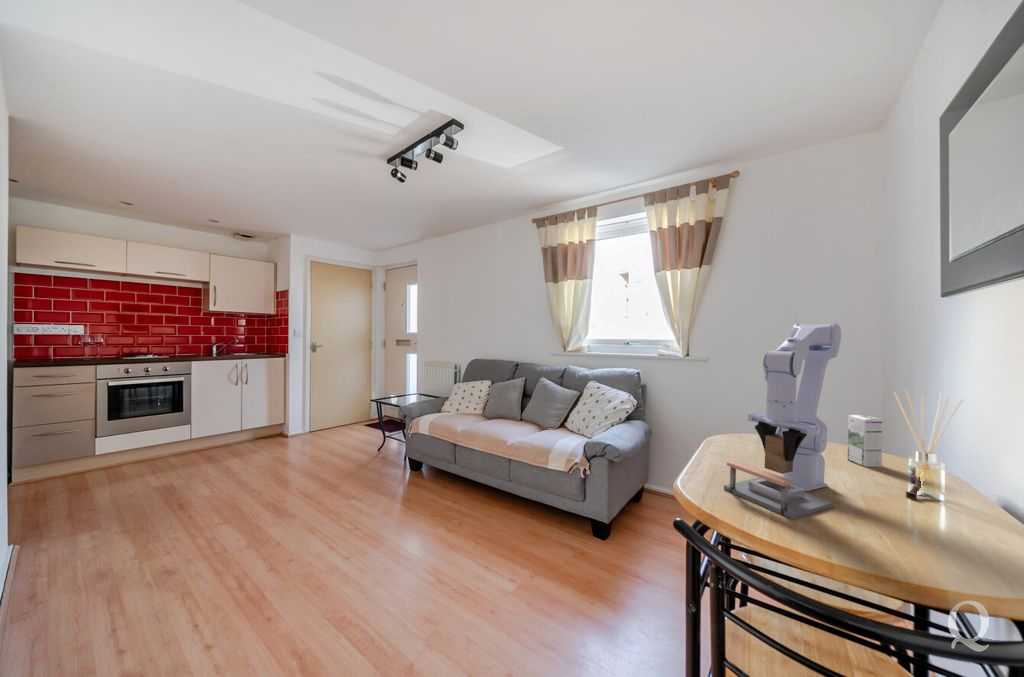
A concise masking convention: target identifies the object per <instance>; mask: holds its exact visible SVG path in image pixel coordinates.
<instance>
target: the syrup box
mask: <svg viewBox="0 0 1024 677" xmlns="http://www.w3.org/2000/svg"><path fill="white" fill-rule="evenodd" d="M847 426H848V429H847V430H848V432H847V461H849V460H850V461H849V462H851V461H853V462H852V463H854V462H855V463H854V464H856V463H857V464H856V465H859V466H862V467H867V468H883V467H882V466H883V434H884V433H883V431H884V430H883V429H884V419H882V418H878V417H874V416H868V415H864V414H849V415H848V424H847Z"/></svg>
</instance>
